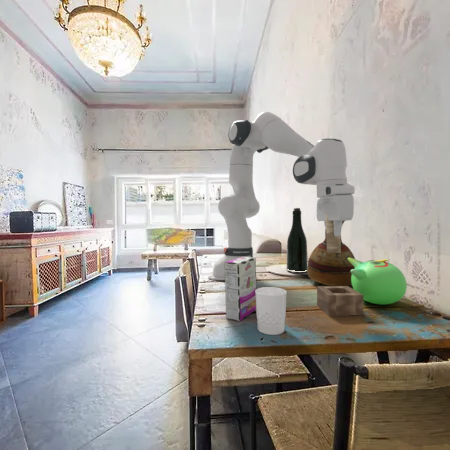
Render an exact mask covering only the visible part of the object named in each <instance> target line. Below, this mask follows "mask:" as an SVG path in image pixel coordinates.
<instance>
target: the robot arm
mask: <svg viewBox="0 0 450 450" xmlns="http://www.w3.org/2000/svg"><path fill="white" fill-rule="evenodd" d="M227 135H228V141H229V142H230V143H231V144H232V147H231V151H230V157H229V168H228V169H229V174H228V176H229V177H228V181H229V184H230V186H231V187H232V189H233V194H229V195H225V196H223V197H221V198H220V199H219V202H218V205H217V210H218V212H219V214H220V215H221V216H222V218H223V219H224V221H225V225H226V227H227V234H228V235H227V236H228V247H224V248H223V252H224V255H223V256H222V257H221V258H219V259H218V260H217V261H216V262H215V263H214V265H213V269H212V272H210V273H208V279H209V280H211V281H216V280H217V281H225V262H228V261H231V260H234V259H237V258H241V257H254V248H253V246H252V245H253V242H252V238H253V237H252V234H253V233H252V230H251V228H250V227H249V225H248V222H247V219H250V218H253V217H255V216H257V215H258V213H259V212H260V202H259V201H258V200H257V198H256V194H255V189H254V181H253V178H254V177H253V175H254V170H253V169H254V154H255V153H256V152H257V153H258V154H260V153H262V152H263V151H267V150H271V151H272V152H275V153H280V154H284V155H289V156H295V157H297V159H296V160H295V162H294V163H293V167H292V176H293V179H294V180H295V182H297V183H298V184H302V185H311V186H312V185H313V186H316V198H319V199H317V202H316V220H317V221H318V222H324V228H325V229H326V214H328V220H329V221H333V224H334V230H333V236H340V235H341V236H342V227H343V225H342V221H345V222H346V221H352V220H353V218H354V207H355V205H354V204H355V202H354V200H355V199H354V195H353V194H355V191H356V190H355V189H356V188H355V186H354V185H351V184H349V183H348V177H347V175H346V170H347V166H348V165H347V163H348V162H347V152H346V147H345V144H344V142H343V141H342V140H341V139H338V138H322V139H321V138H320V139H319V140H317V141H316V143H315V145H314V144H312V143H311V142H309V141H308V140H306V139H305V138H304V137H303V136H301V135H300V134H299V133H298V132H297V131H295V130H294V129H293V128H292V127H291V126H289V124H287V123H286V122H285V121H284V120H283V119H282V118H281V117H279V116H278V115H277V114H274V113H272V112H270V111H263V112H260V113H259V114H258V115H257V117H256V118H255V120H254V121H249V120H248V119H244V120H243V119H242V120H235V121H234V122H232V123H231V125H230V126H229V129H228V134H227Z"/></svg>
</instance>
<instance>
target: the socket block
mask: <svg viewBox="0 0 450 450" xmlns="http://www.w3.org/2000/svg"><path fill="white" fill-rule="evenodd" d="M316 305H317V306H318V307H319V308H320V309H321V310H322V312H324V313H325V314H326V315H327V316H328V317H350V316H349V315H363V316H364V300H363V295H362V294H360V293H359V292H357V291H355V290H354V289H353V287H350V286H349V285H347V286H328V285H321V286H320V285H319V286H318V285H317V286H316Z"/></svg>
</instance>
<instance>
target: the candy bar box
mask: <svg viewBox="0 0 450 450" xmlns="http://www.w3.org/2000/svg"><path fill="white" fill-rule="evenodd" d="M256 259H257V258H256V257H254V256H253V257H241V258H237V259H234V260H231V261H228V262H225V280H224V287H225V288H224V291H225V293H224V294H225V319H227V320H230V321H231V320H232V321H236V322H241V321H243V320H244V319H246V318H248V316H250V315H251V314H253V313H254V312H255V311H256V296H255V290H256V289H257V267H256V266H257V264H256V263H257V261H256Z"/></svg>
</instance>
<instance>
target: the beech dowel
mask: <svg viewBox="0 0 450 450" xmlns="http://www.w3.org/2000/svg"><path fill="white" fill-rule="evenodd" d="M325 229H326V237H327V252H328V253H340V252H341V241H340V236H333V230H334V224H333V221H329V220H328V214H326V228H325Z"/></svg>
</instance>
